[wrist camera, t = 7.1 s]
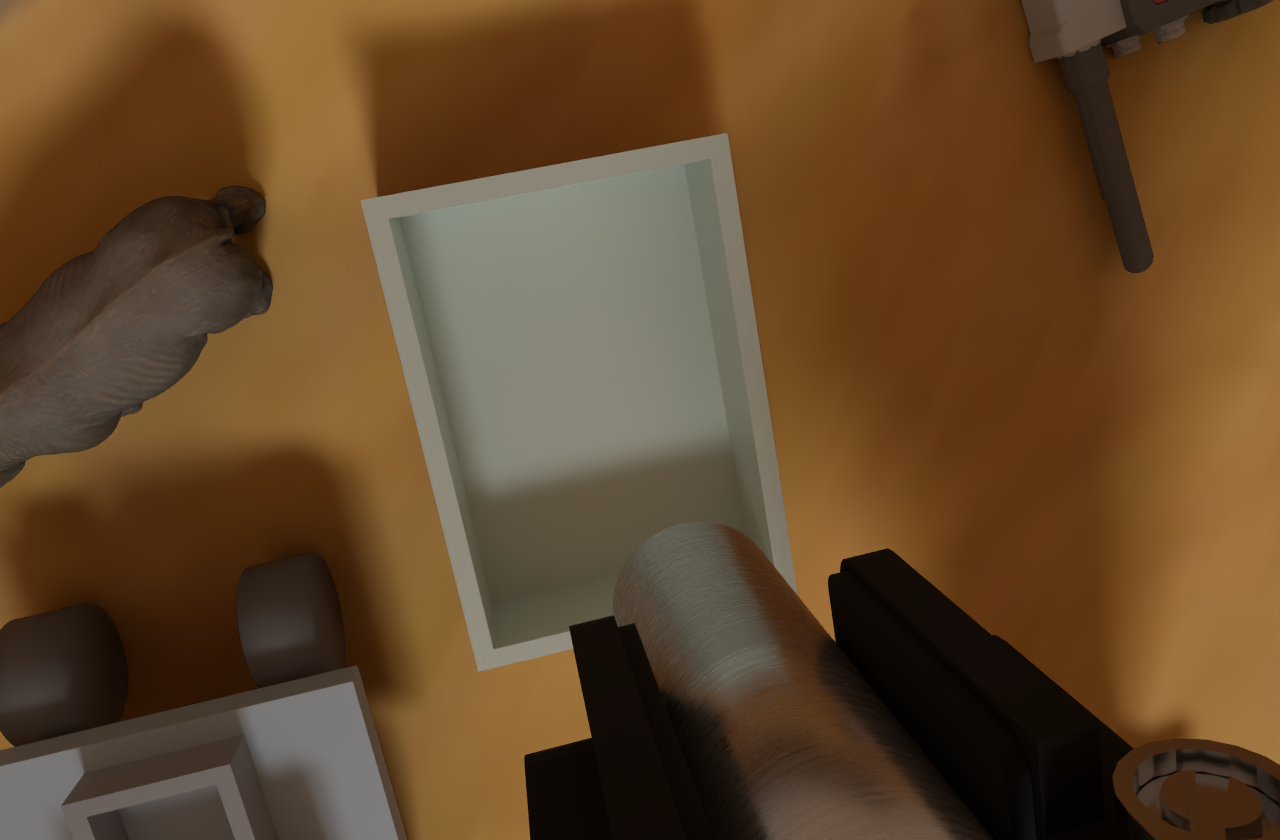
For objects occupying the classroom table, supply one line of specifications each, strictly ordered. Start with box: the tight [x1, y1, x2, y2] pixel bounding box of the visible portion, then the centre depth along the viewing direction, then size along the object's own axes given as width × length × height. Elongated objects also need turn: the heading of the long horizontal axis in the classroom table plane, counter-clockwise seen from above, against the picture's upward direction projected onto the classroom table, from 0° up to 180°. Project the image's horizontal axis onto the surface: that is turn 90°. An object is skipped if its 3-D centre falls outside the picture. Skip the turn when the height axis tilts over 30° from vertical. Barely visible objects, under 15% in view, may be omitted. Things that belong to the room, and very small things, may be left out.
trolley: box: [0, 552, 407, 840], centre depth 28 cm, size 11×14×8 cm
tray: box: [361, 133, 797, 672], centre depth 29 cm, size 10×14×4 cm
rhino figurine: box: [0, 186, 273, 488], centre depth 26 cm, size 4×14×6 cm, turn 129°
